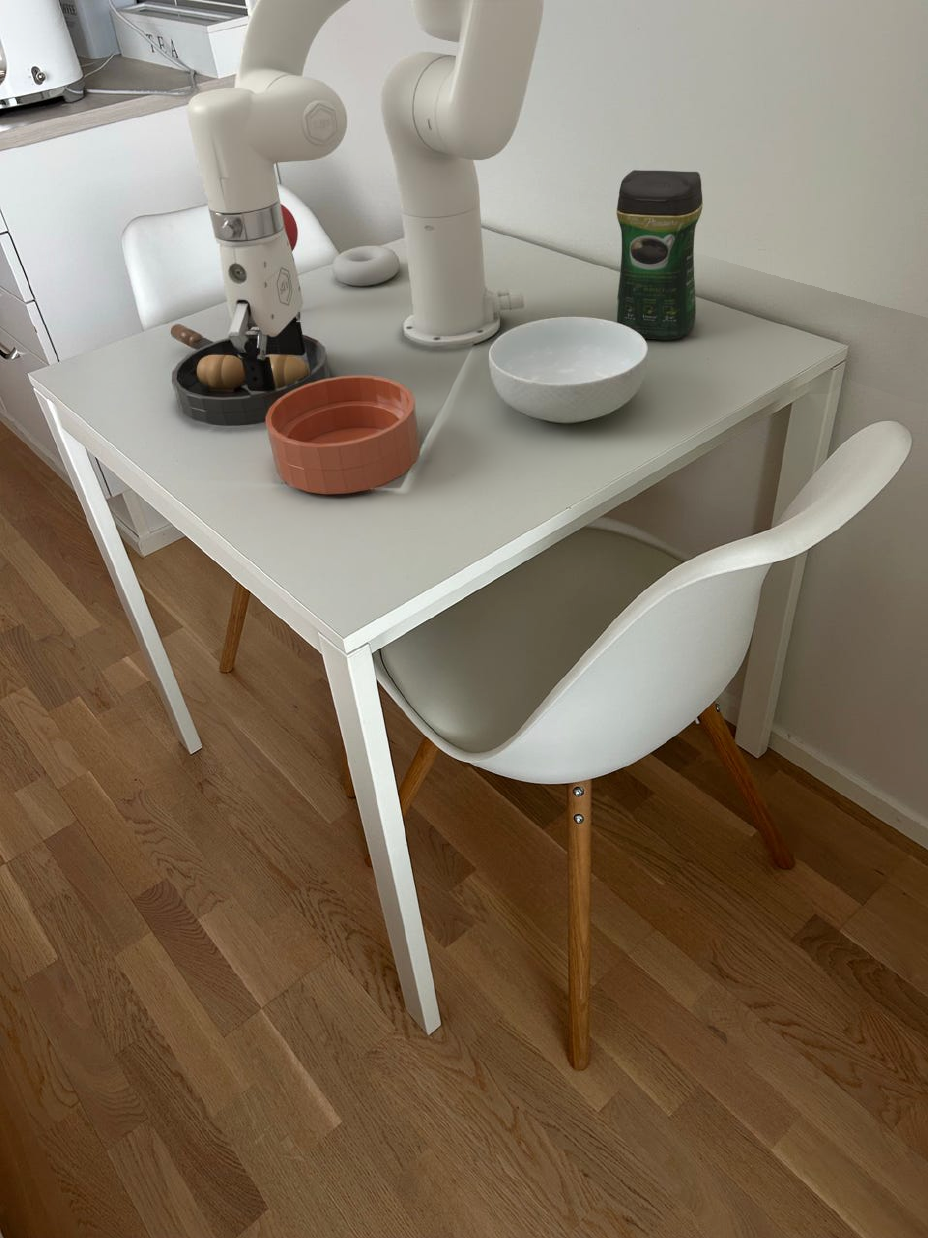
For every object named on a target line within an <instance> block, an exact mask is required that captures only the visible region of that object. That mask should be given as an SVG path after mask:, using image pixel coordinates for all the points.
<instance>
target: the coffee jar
mask: <svg viewBox="0 0 928 1238" xmlns="http://www.w3.org/2000/svg"><path fill="white" fill-rule="evenodd" d="M703 205H704V202H703V190H702V179H701V175H700V173H699V172H698V171H680V170H679V171H678V170H677V171H674V170H637V169H634V170H632V171H630V172H629V173H627V174H626V176H624V178H623V179H622V180H621V183H620V187H619V191H618V198H617V204H616V218H617V219H616V220H617V221H618V225H619V228H620V233H621V256H620V257H621V258H620V271H619V280H618V291H617V299H616V309H615V322H616V323H619V324H622V325H625V326H627V327H629V328H631V329H633V330H634V331H636V332H637V333H639V334H640V335H641V336H642V337H643V338H644V339H650V340H676V339H678V338H681V337H684V336H685V335H688V334H689V333H690V331H691V330H692V329H693V327H694V325H695V323H696V315H697V314H696V313H697V312H696V311H697V310H696V309H697V305H696V304H697V303H696V282H695V259H694V258H695V234H696V227H697V223H698V222H699V220H700V217H701V215H702V211H703Z"/></svg>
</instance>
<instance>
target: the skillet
mask: <svg viewBox="0 0 928 1238" xmlns="http://www.w3.org/2000/svg"><path fill="white" fill-rule="evenodd" d="M303 339H304V345H305V350H306V352H305V354H304V355H295V356H298V357H300V358H301V359H303V360H304V361H305V362H306V364H307V366H308V369H309V374H307V375H306V376H304V377H303V378H301V379H299V380H298V381H296V382H293V383H291V384H289V385H286V386H284V387H282V388H279V389H275V390H272V391H268V392H262V391H250V390H249V389H248V387H247V382H246V379H245V381H244V383H243V384H242V385H241V386H240V387H238V388H236V389H235V390H234V391H233V392H225V391H211V390H210V388H208V387H206V386H204V385H203V384H202V383H201V382H200V380H199V378H198V376H197V366H198V364H199V362H200V360H201V359H202V358H204V357H205V356H208V355H232V356H235V357H237V358H239V357H238V354H237V353H236V352H235V350H234V345H233V344H232V342H231V340H230V339H229V337H226V338H222V339H219V340H216V341H213V342H214V343H211V344H209V345H206V346H204V347H201V348H200V349H195V350H194V351H192V352H191V353H189V354H188V355H186V356H184V358H182V359H181V360H180V361H179V362H177V364H176V365H175V367H174V369H172V372H171V383H172V387H173V390H174V393H175V397H176V399H177V400H176V401H177V404H178V406H179V409H180V410H181V412H182V413H183V414H184V415H186V416H187V417H188V418H190V419H192V420H194V421H197V422H199V423H203V424H208V425H212V426H213V425H214V426H223V427H224V426H225V427H226V426H227V427H231V426H232V427H235V426H237V427H239V426H249V425H255V424H256V425H257V424H262V423H266V419H265V418H266V415H267V413H268V410H269V408H270V407H271V406H272V405H273V404H274V403H275V402H276V401H277V400H278V399H279V398H281V397H282V396H284V395H285V394H287V393H288V392H290V391H292V390H294V389H296V388H299V387H301V386H303V385H306V384H309V383H312V382H316V381H319V380H324V379H328V378H332V377H331V371H330V366H329V360H328V355H327V351H326V347H325V346H324V345H323V344H322V343H321V342H320V341H319V340H317V339H316V338H313V337H311V336H309V335H306V334H303ZM248 342H251V343H253V344H254V345H255V346H256V347H257V343H258V338H249V340H248ZM270 354H278V355H282V354H280V352H279V347H278V342H277V337H276V336H275V337H270V336H269V335H267V345H266V355H270ZM266 355H265V356H266ZM241 361H242V360H241Z"/></svg>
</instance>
